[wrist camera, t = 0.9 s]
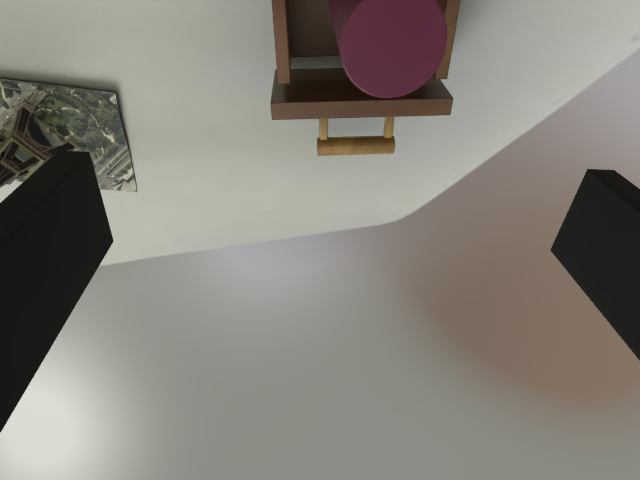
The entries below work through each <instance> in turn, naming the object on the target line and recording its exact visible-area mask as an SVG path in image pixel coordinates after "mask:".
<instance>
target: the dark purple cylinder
mask: <svg viewBox="0 0 640 480" xmlns="http://www.w3.org/2000/svg"><path fill="white" fill-rule="evenodd" d="M328 3H329V7H330V12H331V16H332V21H333V25H334V30H335V34H336V39H337V43H338V48H339V52H340V57H341V61H342V64H343V68H344V70H345V72H346V74H347V76H348V77H349V79H350V80H351V81H352V82H353V84H354V85H355V86H357V87H358V88H359V89H360V90H362V91H363V92H365V93H367V94H369V95H372V96H375V97H380V98H395V97H400V96H404V95H406V94H409V93H411V92H413V91H415V90H417V89H418V88H420V87H421V86H422V85H424V84H425V83H426V82H427V81H428V80H429V79H430V78H431V77H432V75H433V74H434V73H435V72H436V70H437V68H438V67H439V65H440V63H441V61H442V59H443V56H444V53H445V50H446V45H447V24H446V20H445V16H444V14H443V11H442V9H441V7H440V6H439V4H438V3H437V1H436V0H328Z"/></svg>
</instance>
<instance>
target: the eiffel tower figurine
mask: <svg viewBox="0 0 640 480" xmlns="http://www.w3.org/2000/svg"><path fill="white" fill-rule="evenodd" d="M57 151H83V152H90V155H91V159H92V162H93V166H94V170H95V174H96V178H97V181H98V185H99V189H107V190H120V191H132V192H137V188H136V183H135V178H134V173H133V168H132V163H131V158H130V153H129V149H128V145H127V142H126V138H125V135H124V131H123V128H122V124H121V119H120V115H119V110H118V105H117V100H116V95H115V93H114V92H104V91H95V90H88V89H82V88H75V87H67V86H60V85H51V84H41V83H33V82H24V81H16V80H8V79H0V188H1V187H2V186H4V185H5V184H11V183H12V182H13V181H21V182H24V181H25V180H26V179H27V178H28V177H30V176H31V175H32V174H33V173H34V172H35V171H36V170H37V169H38V168H39V167H40V166H42V165H43V164H44V163H45V162H46V161H47V160H48V159H49V158H50V157H51V156H53V155H54V154H55V153H56V152H57Z"/></svg>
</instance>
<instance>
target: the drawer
mask: <svg viewBox="0 0 640 480" xmlns="http://www.w3.org/2000/svg"><path fill="white" fill-rule="evenodd" d="M436 1H437V3H438V4H439V6H440V7H441V9H442V11H443V14H444V16H445V20H446V24H447V45H446V50H445V53H444V56H443V59H442V61H441V63H440V65H439V67H438V68H437V70H436V72H435V73H434V74H433V75H432V77H431V78H430V79H429V80H428V81H427V82H426V83H425V84H424V85H422V86H421V87H420V88H418V89H417V90H415V91H413V92H411V93H409V94H406V95H404V96H400V97H395V98H380V97H375V96H372V95H369V94H367V93H365V92H363V91H362V90H360V89H359V88H358V87H357V86H355V85H354V84H353V82H352V81H351V80H350V79H349V77H348V76H347V74H346V72H345V70H344V68H320V69H291V64H292V57H310V56H340V52H339V48H338V43H337V39H336V34H335V30H334V25H333V21H332V16H331V12H330V7H329V3H328V0H272V10H273V23H274V36H275V49H276V61H277V70H275V76H274V83H273V90H272V97H271V114H272V120H290V119H319V128H320V138H317V154H318V156H327V155H361V154H392V153H394V149H395V139H394V136H393V135H392V134H393V124H394V117H396V116H432V115H450V113H451V108H452V102H453V97H452V96H451V94H450V93H449V91H448V90H447V89H446V87H445V86H444V84H443V83H442V82H441V80H440V79H447V76H448V70H449V64H450V58H451V52H452V46H453V41H454V35H455V29H456V23H457V17H458V11H459V6H460V0H436ZM361 117H385V124H384V136H356V137H328V118H361Z"/></svg>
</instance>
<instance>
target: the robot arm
mask: <svg viewBox="0 0 640 480" xmlns="http://www.w3.org/2000/svg"><path fill="white" fill-rule="evenodd" d="M112 243H113V238H112V234H111V230H110V227H109V223H108V219H107V215H106V211H105V208H104V204H103V200H102V196H101V193H100V189H99V185H98V181H97V178H96V174H95V170H94V166H93V162H92V159H91V155H90V152H83V151H57V152H56V153H55V154H54V155H53V156H51V157H50V158H49V159H48V160H47V161H46V162H45V163H44V164H43V165H42V166H40V167H39V168H38V169H37V170H36V171H35V172H34V173H33V174H32V175H31V176H30V177H28V178H27V179H26V180H25V181H24V182H23V183H22V184H21V185H20V186H19V187H18V188H16V189H15V190H14V191H13V192H12V193H11V194H10V195H9V196H8V197H7V198H5V199H4V200H3V201H2V202H1V203H0V432H1V431H2V429H3V427H4V425H5V424H6V422H7V420H8V419H9V417H10V416H11V413H12V412H13V410H14V409H15V407H16V405H17V404H18V402H19V400H20V399H21V397H22V395H23V393H24V392H25V390H26V388H27V387H28V385H29V383H30V382H31V380H32V378H33V377H34V375H35V373H36V371H37V370H38V368H39V366H40V365H41V363H42V361H43V359H44V358H45V356H46V355H47V353H48V351H49V349H50V348H51V346H52V344H53V343H54V341H55V339H56V337H57V336H58V334H59V333H60V331H61V329H62V327H63V326H64V324H65V322H66V320H67V319H68V317H69V316H70V314H71V312H72V311H73V309H74V307H75V305H76V304H77V302H78V300H79V299H80V297H81V295H82V294H83V292H84V290H85V288H86V287H87V285H88V283H89V282H90V280H91V278H92V277H93V275H94V273H95V271H96V270H97V268H98V266H99V265H100V263H101V261H102V260H103V258H104V256H105V255H106V253H107V251H108V250H109V248H110V246H111V244H112ZM551 251H552V253H553V254H554V255H555V256H556V258H557V259H558V260H559V261H560V263H561V264H562V265H563V266H564V267H565V269H566V270H567V271H568V272H569V274H570V275H571V276H572V277H573V279H574V280H575V281H576V282H577V284H578V285H579V286H580V287H581V289H582V290H583V291H584V292H585V293H586V295H587V296H588V297H589V298H590V300H591V301H592V302H593V303H594V305H595V306H596V307H597V308H598V309H599V311H600V312H601V313H602V314H603V316H604V317H605V318H606V319H607V321H608V322H609V323H610V324H611V326H612V327H613V328H614V329H615V330H616V332H617V333H618V334H619V335H620V337H621V338H622V339H623V340H624V342H625V343H626V344H627V345H628V347H629V348H630V349H631V350H632V352H633V353H634V354H635V355H636V356H637V358H638V359H639V360H640V189H639V188H638V187H636V186H635V185H633V184H632V183H631V182H629V181H628V180H627V179H625V178H624V177H623V176H621V175H620V174H618V173H617V172H616V171H615V170H596V169H587V171H586V174H585V176H584V178H583V180H582V182H581V184H580V187H579V189H578V191H577V193H576V195H575V198H574V200H573V202H572V204H571V207H570V209H569V211H568V213H567V215H566V217H565V219H564V222H563V224H562V226H561V228H560V230H559V232H558V235H557V237H556V239H555V241H554V243H553V246H552V248H551Z"/></svg>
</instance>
